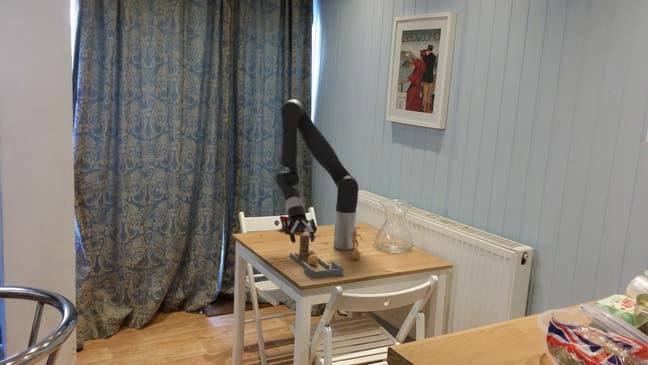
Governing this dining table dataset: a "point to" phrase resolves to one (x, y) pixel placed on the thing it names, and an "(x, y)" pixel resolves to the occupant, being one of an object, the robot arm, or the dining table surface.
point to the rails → (305, 263)
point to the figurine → (355, 253)
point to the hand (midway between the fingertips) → (303, 241)
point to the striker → (304, 248)
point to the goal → (324, 271)
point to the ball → (313, 259)
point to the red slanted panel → (287, 220)
